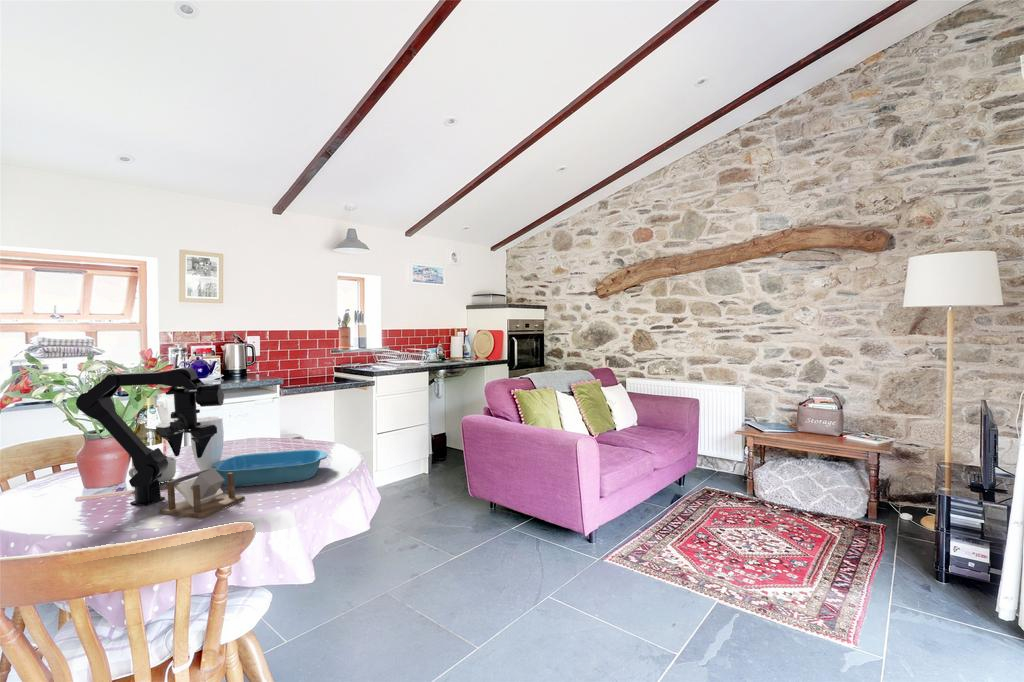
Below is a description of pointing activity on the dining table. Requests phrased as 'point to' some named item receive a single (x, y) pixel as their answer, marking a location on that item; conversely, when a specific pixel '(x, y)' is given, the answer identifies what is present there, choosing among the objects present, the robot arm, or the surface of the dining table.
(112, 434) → the robot arm
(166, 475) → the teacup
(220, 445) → the cup
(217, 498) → the trapdoor stand
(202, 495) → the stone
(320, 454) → the casserole dish
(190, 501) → the trapdoor
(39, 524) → the dining table surface
